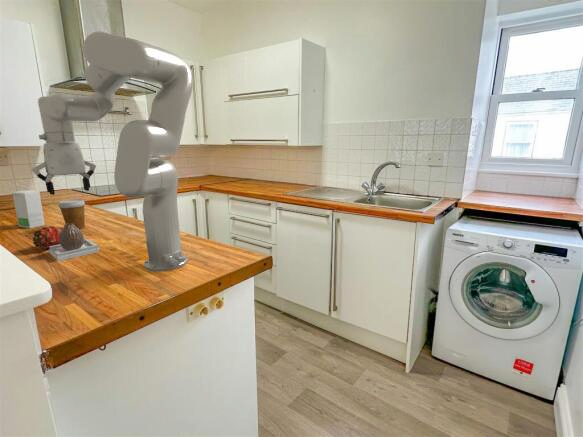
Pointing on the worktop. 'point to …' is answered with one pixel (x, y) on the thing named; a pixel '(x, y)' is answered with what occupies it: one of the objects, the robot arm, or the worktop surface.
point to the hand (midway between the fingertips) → (70, 192)
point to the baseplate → (73, 251)
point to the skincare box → (28, 208)
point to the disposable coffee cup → (73, 212)
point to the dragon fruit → (47, 237)
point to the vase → (71, 237)
